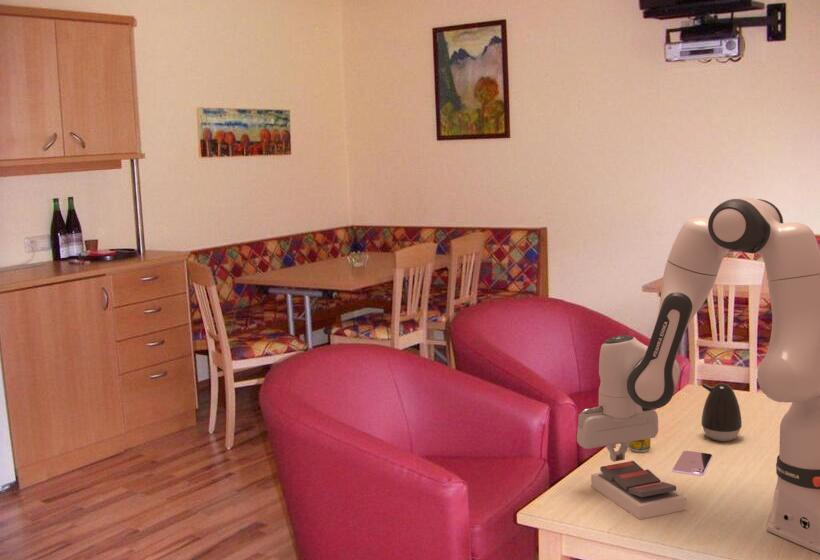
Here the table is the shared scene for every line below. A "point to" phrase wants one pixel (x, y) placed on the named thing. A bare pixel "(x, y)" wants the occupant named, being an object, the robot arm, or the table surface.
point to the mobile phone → (692, 463)
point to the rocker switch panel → (639, 499)
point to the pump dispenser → (721, 413)
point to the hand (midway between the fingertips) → (617, 460)
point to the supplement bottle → (640, 445)
